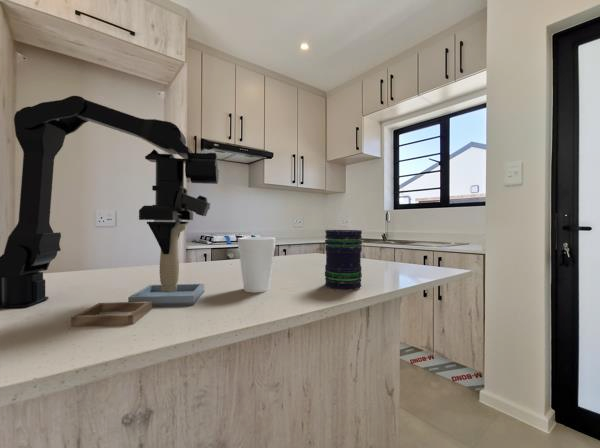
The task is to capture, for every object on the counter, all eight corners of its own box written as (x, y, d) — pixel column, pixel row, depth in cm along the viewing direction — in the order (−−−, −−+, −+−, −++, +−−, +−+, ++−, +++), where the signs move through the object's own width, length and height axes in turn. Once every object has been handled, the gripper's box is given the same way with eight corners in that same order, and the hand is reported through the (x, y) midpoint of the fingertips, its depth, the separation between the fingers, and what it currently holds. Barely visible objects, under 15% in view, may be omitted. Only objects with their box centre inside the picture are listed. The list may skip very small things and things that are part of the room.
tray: (128, 307, 60) (128, 297, 60) (149, 293, 72) (149, 284, 72) (193, 305, 62) (193, 295, 62) (204, 291, 73) (204, 283, 73)
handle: (153, 290, 68) (154, 223, 68) (184, 288, 70) (185, 223, 70) (152, 295, 63) (152, 223, 63) (185, 292, 66) (185, 224, 66)
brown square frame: (71, 326, 49) (71, 317, 49) (99, 310, 58) (99, 302, 58) (133, 324, 51) (133, 315, 51) (151, 309, 59) (151, 301, 59)
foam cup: (278, 286, 80) (278, 237, 80) (271, 294, 71) (271, 239, 71) (243, 285, 81) (243, 236, 81) (232, 293, 72) (232, 239, 72)
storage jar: (367, 289, 77) (368, 231, 77) (331, 290, 75) (331, 231, 75) (353, 281, 87) (353, 229, 87) (320, 282, 85) (320, 229, 85)
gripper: (199, 177, 58) (198, 258, 59) (213, 187, 77) (213, 249, 77) (137, 176, 57) (137, 258, 57) (168, 186, 75) (167, 249, 76)
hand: (169, 253), depth 67 cm, fingers closed on handle, 4 cm apart
